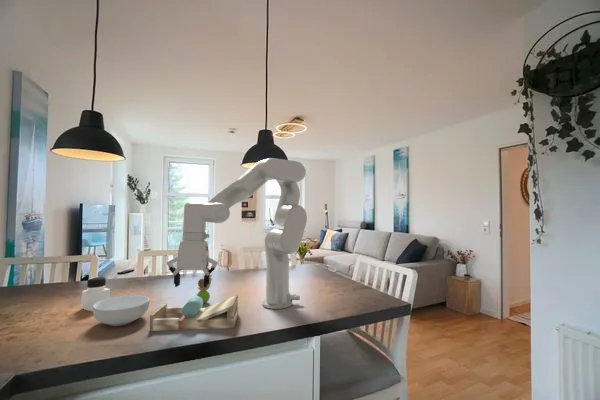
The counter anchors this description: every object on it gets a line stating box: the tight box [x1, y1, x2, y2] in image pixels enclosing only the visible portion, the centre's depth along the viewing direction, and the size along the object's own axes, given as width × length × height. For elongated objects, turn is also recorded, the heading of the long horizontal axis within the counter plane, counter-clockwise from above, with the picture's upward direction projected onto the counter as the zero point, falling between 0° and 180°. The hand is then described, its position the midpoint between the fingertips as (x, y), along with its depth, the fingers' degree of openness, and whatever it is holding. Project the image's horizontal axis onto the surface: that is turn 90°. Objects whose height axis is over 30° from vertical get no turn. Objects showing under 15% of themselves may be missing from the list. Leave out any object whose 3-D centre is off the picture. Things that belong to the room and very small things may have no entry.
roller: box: [182, 295, 204, 318], centre depth 100 cm, size 5×8×5 cm, turn 6°
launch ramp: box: [149, 294, 239, 332], centre depth 100 cm, size 27×12×8 cm, turn 96°
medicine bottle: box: [80, 276, 112, 313], centre depth 114 cm, size 7×7×12 cm
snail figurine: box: [196, 274, 213, 304], centre depth 120 cm, size 5×6×12 cm
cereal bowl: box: [92, 294, 151, 327], centre depth 100 cm, size 17×17×7 cm
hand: (191, 286), depth 99 cm, fingers open, 9 cm apart
